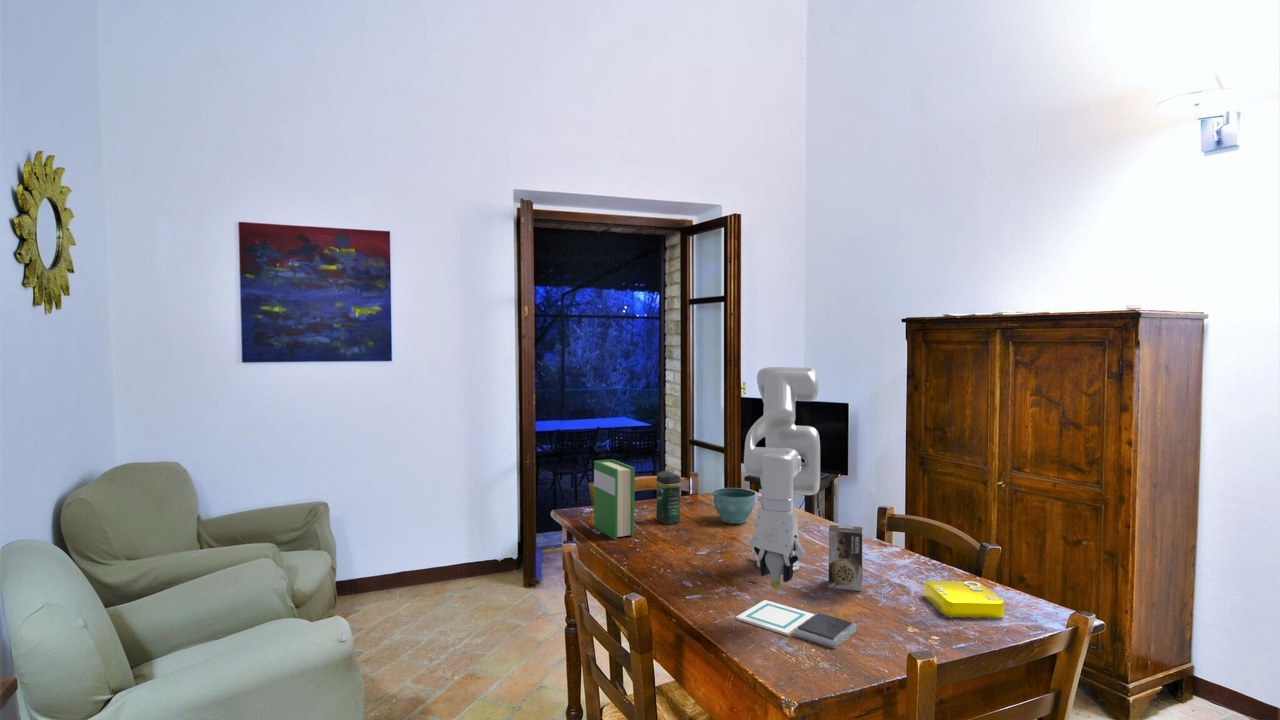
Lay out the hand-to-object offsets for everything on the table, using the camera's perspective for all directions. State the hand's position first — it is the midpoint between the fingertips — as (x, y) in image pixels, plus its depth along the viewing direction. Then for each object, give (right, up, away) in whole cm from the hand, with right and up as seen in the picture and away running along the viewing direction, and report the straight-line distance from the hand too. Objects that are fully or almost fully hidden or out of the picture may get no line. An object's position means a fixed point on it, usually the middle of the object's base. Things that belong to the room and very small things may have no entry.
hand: (776, 576), depth 165 cm
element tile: (+50, -11, +9) cm, 52 cm away
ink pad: (+10, -11, -8) cm, 16 cm away
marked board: (0, -10, 0) cm, 10 cm away
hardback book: (-43, -8, +73) cm, 85 cm away
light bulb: (0, -3, 0) cm, 3 cm away
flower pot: (+2, -7, +88) cm, 88 cm away
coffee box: (+24, -10, +22) cm, 34 cm away
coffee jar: (-23, -7, +86) cm, 90 cm away
